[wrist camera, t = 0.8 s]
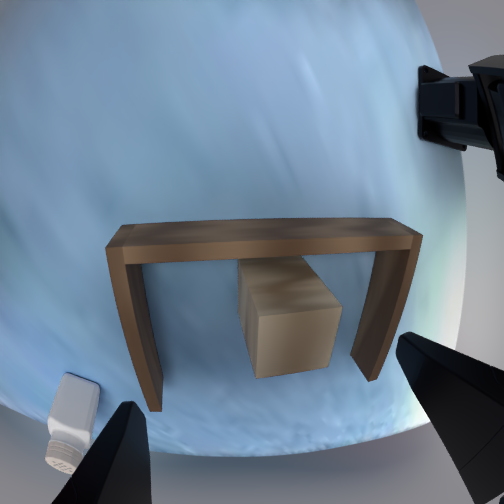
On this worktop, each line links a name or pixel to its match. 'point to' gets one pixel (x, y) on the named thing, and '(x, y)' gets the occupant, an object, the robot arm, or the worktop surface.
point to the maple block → (285, 315)
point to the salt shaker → (71, 422)
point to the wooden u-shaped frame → (258, 246)
